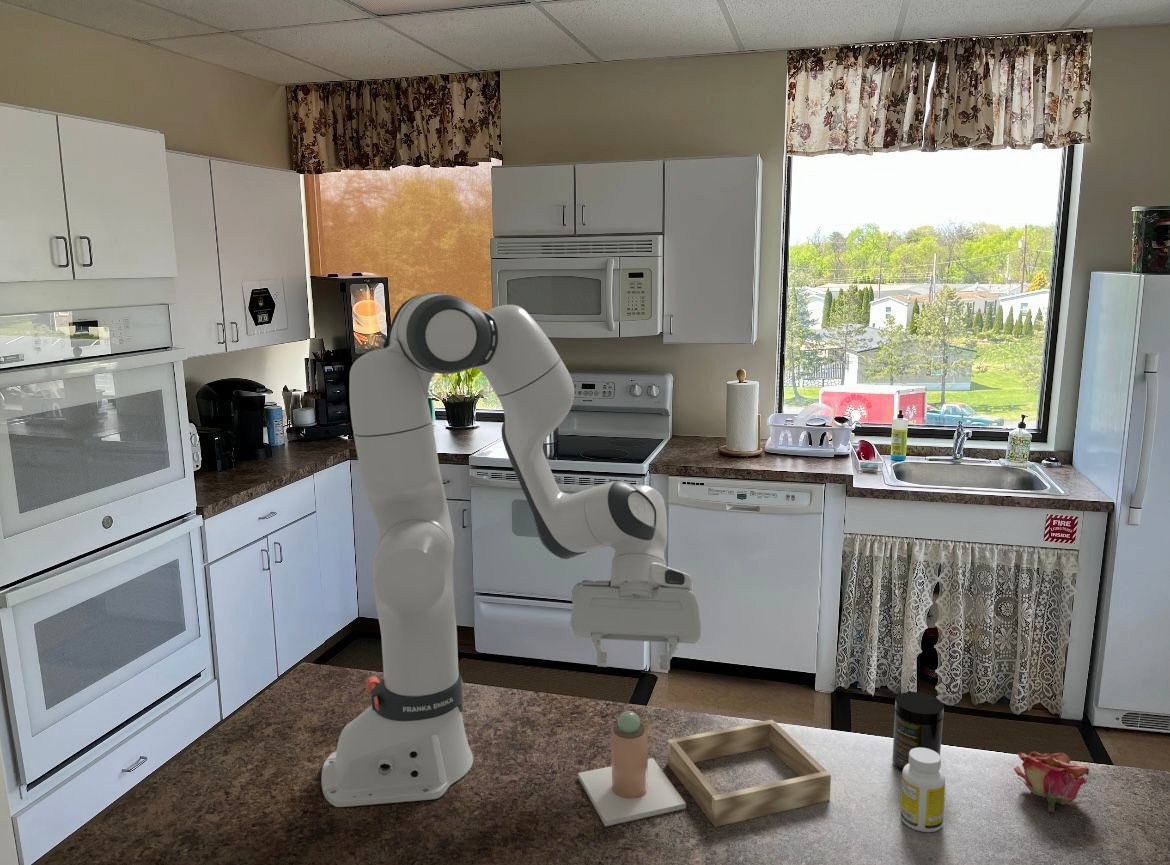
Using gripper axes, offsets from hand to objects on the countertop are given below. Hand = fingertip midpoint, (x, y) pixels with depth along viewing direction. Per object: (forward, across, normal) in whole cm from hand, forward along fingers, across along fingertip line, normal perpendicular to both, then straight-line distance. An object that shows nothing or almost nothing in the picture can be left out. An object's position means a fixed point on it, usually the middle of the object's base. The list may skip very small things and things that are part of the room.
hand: (633, 667), depth 128 cm
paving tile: (+17, 0, +5) cm, 18 cm away
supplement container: (+9, +42, +13) cm, 45 cm away
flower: (+13, +59, +8) cm, 61 cm away
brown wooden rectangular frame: (+13, +17, +8) cm, 23 cm away
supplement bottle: (+18, +40, +4) cm, 44 cm away
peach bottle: (+16, 0, +5) cm, 17 cm away
